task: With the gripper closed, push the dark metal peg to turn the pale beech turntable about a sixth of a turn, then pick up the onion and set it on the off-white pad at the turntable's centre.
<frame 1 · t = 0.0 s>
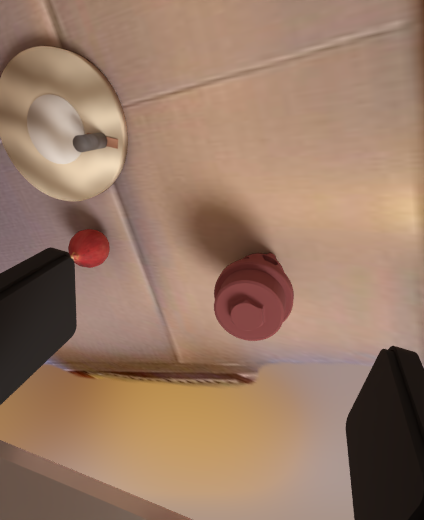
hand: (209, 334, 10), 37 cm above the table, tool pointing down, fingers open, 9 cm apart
onion: (103, 239, 55), on the table
turntable: (48, 131, 45), point 4 cm above the table, hinge at 0.0°
mechanical component: (261, 270, 50), on the table
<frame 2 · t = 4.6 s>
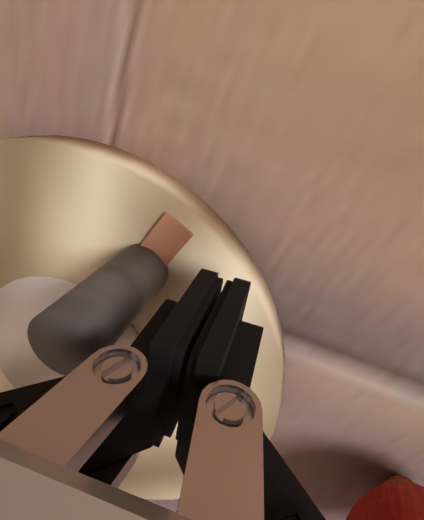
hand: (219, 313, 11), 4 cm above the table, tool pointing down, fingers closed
onion: (398, 476, 17), on the table
turntable: (47, 382, 15), point 4 cm above the table, hinge at 1.3°, touching gripper
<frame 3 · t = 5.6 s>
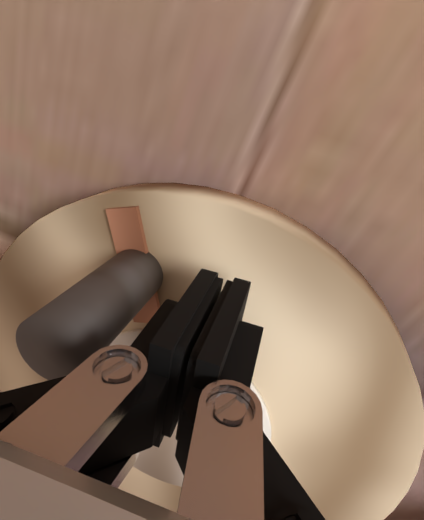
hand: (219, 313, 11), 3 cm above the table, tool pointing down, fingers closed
turntable: (156, 443, 14), point 4 cm above the table, hinge at 48.9°, touching gripper
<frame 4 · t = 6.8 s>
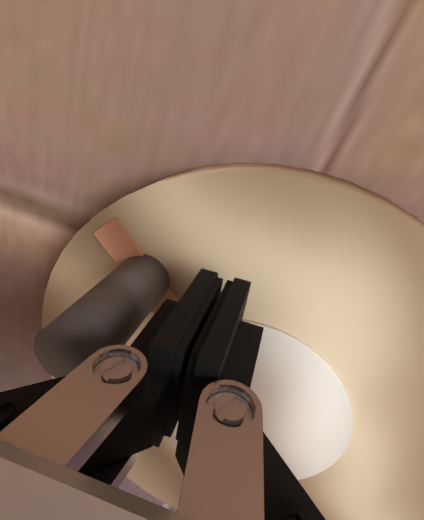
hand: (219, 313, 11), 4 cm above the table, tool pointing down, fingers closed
turntable: (233, 436, 13), point 4 cm above the table, hinge at 74.5°, touching gripper
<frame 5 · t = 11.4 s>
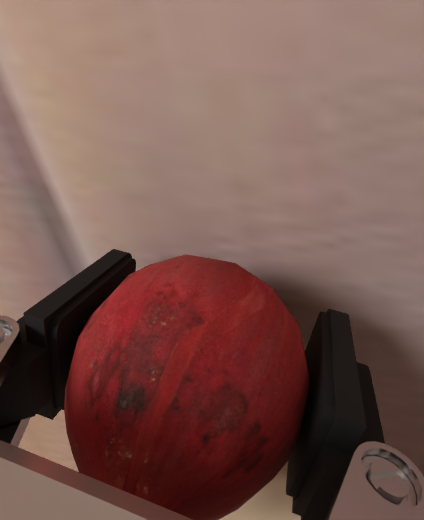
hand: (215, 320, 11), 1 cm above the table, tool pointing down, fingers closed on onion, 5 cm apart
onion: (226, 296, 12), on the table, touching gripper
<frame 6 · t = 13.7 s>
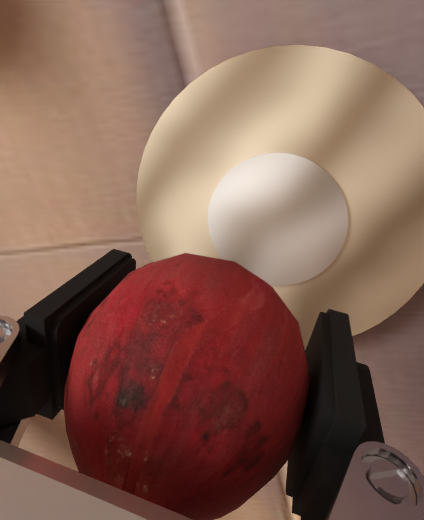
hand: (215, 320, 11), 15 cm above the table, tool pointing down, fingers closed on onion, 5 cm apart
onion: (226, 294, 12), point 13 cm above the table, touching gripper
turntable: (271, 231, 21), point 4 cm above the table, hinge at 74.6°
when the fingers open (5 cm above the table, at t = 16.2 s): onion stays where it is, resting on turntable.
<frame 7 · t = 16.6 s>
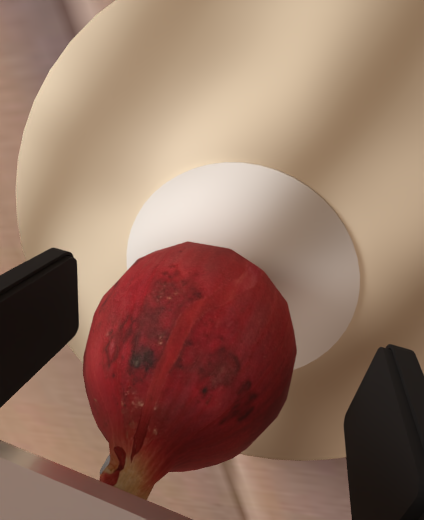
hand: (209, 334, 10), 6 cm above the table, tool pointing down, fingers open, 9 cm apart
onion: (225, 281, 13), point 2 cm above the table, touching turntable
turntable: (225, 300, 12), point 4 cm above the table, hinge at 74.6°, touching onion
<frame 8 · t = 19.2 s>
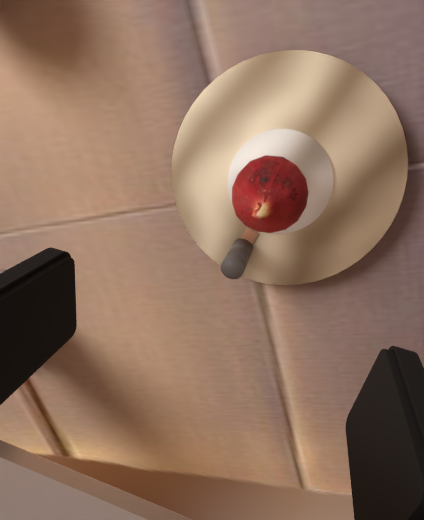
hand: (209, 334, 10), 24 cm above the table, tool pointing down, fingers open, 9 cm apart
onion: (274, 184, 29), point 2 cm above the table, touching turntable
turntable: (276, 187, 28), point 4 cm above the table, hinge at 74.6°, touching onion
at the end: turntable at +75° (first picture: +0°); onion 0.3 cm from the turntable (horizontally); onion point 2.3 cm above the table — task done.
